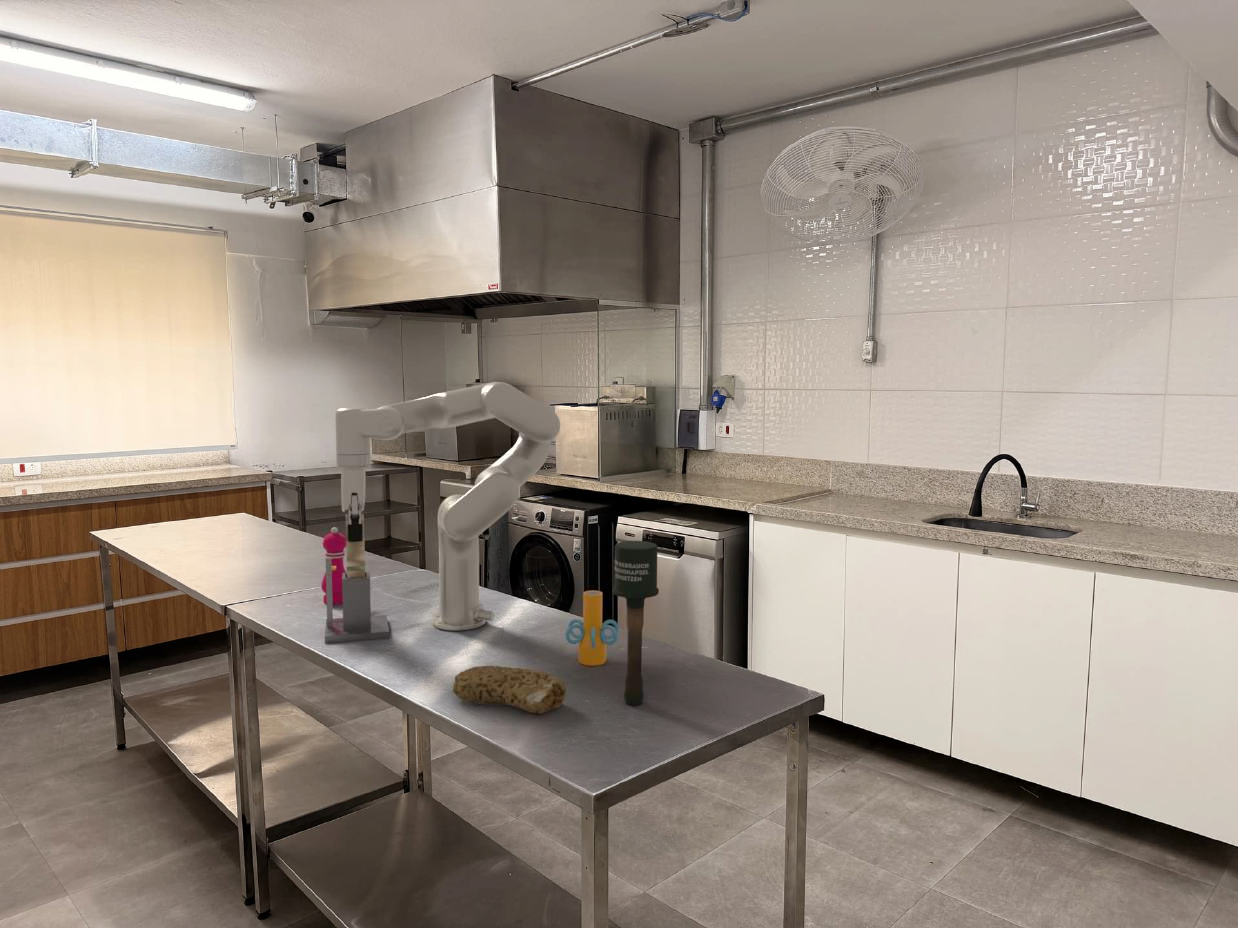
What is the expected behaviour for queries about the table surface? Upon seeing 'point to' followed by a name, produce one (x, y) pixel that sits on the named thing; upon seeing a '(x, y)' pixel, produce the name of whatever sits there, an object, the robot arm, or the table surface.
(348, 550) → the post
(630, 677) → the stick grenade
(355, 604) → the grey socket stand
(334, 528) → the pepper mill
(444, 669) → the table surface
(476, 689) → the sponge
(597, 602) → the orange tube with rings
